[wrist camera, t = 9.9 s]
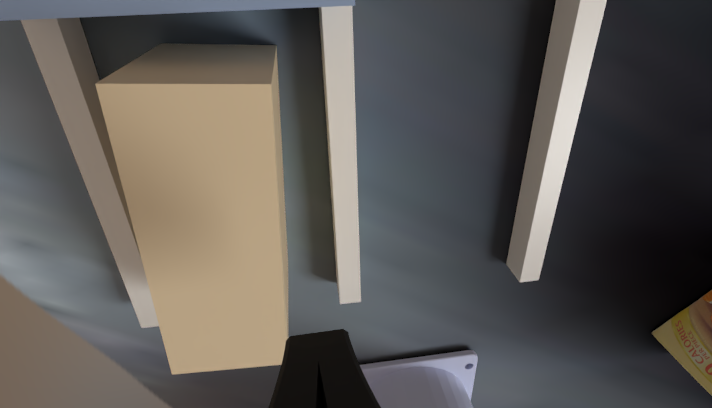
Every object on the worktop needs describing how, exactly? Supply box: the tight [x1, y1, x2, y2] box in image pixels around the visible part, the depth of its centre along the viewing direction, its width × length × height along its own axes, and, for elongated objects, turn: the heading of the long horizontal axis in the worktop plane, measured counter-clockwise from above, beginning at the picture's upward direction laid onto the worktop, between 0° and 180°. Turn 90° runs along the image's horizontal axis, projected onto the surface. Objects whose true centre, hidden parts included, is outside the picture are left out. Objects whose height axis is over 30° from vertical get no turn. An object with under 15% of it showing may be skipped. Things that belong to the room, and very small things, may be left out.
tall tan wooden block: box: [95, 43, 288, 375], centre depth 15 cm, size 10×4×6 cm, turn 178°
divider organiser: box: [0, 0, 607, 328], centre depth 16 cm, size 14×19×4 cm
